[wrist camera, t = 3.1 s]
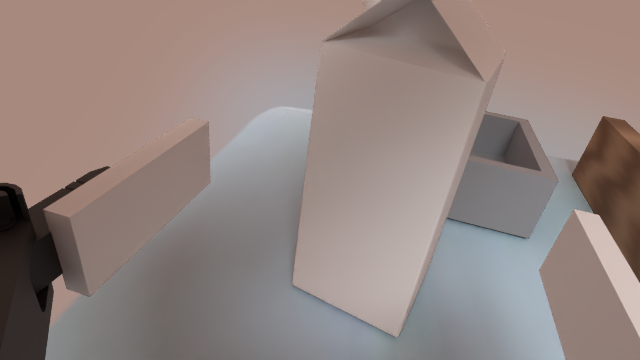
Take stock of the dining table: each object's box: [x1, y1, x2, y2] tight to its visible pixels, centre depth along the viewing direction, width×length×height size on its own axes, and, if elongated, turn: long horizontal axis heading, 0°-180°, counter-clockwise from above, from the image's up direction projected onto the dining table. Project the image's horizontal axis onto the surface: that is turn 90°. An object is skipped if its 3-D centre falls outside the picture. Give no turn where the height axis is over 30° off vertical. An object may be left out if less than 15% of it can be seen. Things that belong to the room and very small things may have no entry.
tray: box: [447, 111, 558, 239], centre depth 37 cm, size 13×13×6 cm
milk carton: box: [292, 0, 506, 337], centre depth 21 cm, size 7×7×19 cm
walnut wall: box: [572, 116, 640, 283], centre depth 34 cm, size 18×2×7 cm, turn 164°
